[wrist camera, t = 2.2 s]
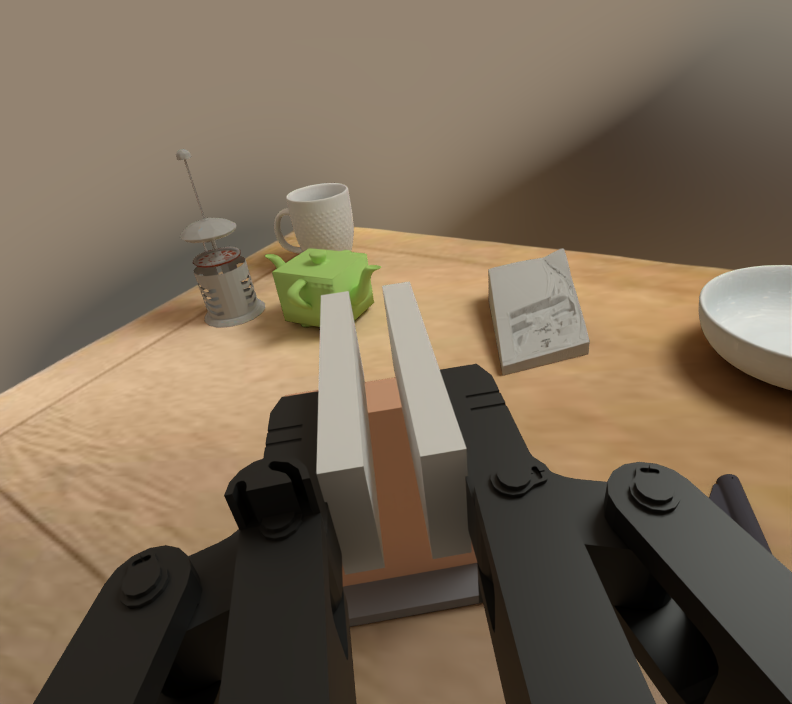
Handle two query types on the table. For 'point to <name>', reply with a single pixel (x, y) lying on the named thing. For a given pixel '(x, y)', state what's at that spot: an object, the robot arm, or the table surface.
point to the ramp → (536, 313)
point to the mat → (412, 594)
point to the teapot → (321, 282)
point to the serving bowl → (751, 321)
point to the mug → (319, 218)
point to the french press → (224, 289)
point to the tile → (397, 493)
